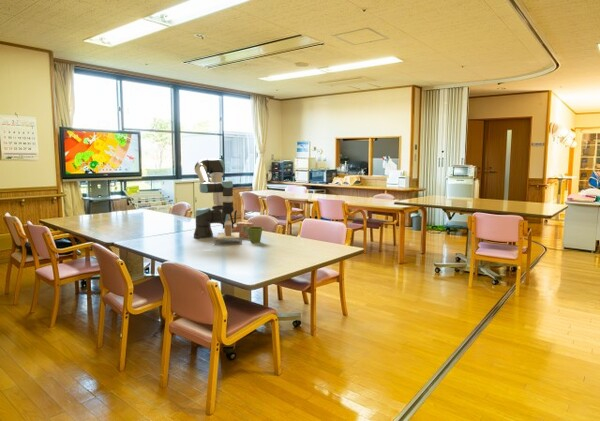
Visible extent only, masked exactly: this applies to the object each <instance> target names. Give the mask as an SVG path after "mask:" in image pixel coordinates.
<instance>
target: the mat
mask: <svg viewBox="0 0 600 421" xmlns="http://www.w3.org/2000/svg"><path fill="white" fill-rule="evenodd" d="M241 245H242V246H243V238H242V239H241V238H237V239H215V241H214V244H213V246H218V247H219V246H241Z"/></svg>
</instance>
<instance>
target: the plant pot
mask: <svg viewBox="0 0 600 421" xmlns="http://www.w3.org/2000/svg"><path fill="white" fill-rule="evenodd" d="M263 229H264V227H262V226H254V227H248V231H249V235H250V238H249V240H250V243H252V244H254V243H255V244H257V243H261V240H262V235H263V234H262V232H263Z"/></svg>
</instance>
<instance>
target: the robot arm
mask: <svg viewBox="0 0 600 421" xmlns="http://www.w3.org/2000/svg"><path fill="white" fill-rule="evenodd" d="M194 172H195V174H196V175H197V176H198V180H199V192H200V193H202V194H209V193H210V194H211V193H212V198H213V199H212V201H213V205H212V206H211V208H210V207H207V206H206V207H199V208H197V209H195V212H194V214H195V215H194V216H195V229H194V232H193V238H194V239H207V238H213V237H214V233H213V230H212V226H211V225H212V224H221V225H222V229H224V232H223V233H225V224H226V223H227V222H229V219H230V222H231V223H230V224H231V233H232V228H234V226H235V225H236V224H237V211H238V210H237V209H235V208H234V194H233V192H234V190H233V189H234V184H233V183H234V182H233V181H232V180H223V176H224V173H225V172H226V165H225V161H224V160H223V159H222V158H202V159H200V160H198V161H197V162H196V163H195V165H194ZM232 213H234V218H233V216H232ZM234 224H235V225H234Z"/></svg>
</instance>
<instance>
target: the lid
mask: <svg viewBox="0 0 600 421" xmlns="http://www.w3.org/2000/svg"><path fill="white" fill-rule="evenodd" d="M231 224H232V223H225V233H224V232H218V233H217V235H216V240H223V239H240V238H239V233H231Z"/></svg>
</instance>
